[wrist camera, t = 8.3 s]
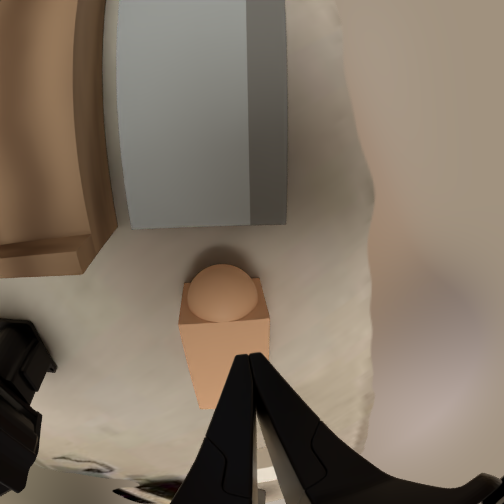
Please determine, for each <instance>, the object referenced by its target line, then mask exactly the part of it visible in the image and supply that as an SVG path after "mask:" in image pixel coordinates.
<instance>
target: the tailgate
mask: <svg viewBox="0 0 504 504" xmlns="http://www.w3.org/2000/svg"><path fill="white" fill-rule="evenodd" d="M116 81H117V109H118V125H119V138H120V149H121V159H122V168H123V176H124V184H125V191H126V198H127V204H128V211H129V217H130V223H131V228H132V230H135V229H156V228H180V227H207V226H241V225H286V214H287V162H288V92H287V44H286V16H285V0H119V10H118V25H117V52H116Z"/></svg>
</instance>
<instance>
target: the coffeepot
mask: <svg viewBox="0 0 504 504" xmlns="http://www.w3.org/2000/svg"><path fill="white" fill-rule="evenodd" d="M265 493H266V492H265V491H264V490H261V489H258V504H265Z"/></svg>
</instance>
